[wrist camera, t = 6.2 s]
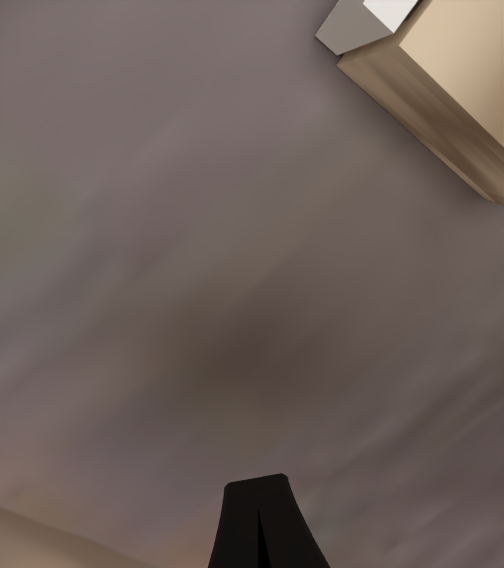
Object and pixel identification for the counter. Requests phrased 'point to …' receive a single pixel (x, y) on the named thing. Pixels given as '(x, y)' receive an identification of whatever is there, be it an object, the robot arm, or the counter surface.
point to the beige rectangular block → (444, 84)
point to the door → (361, 22)
